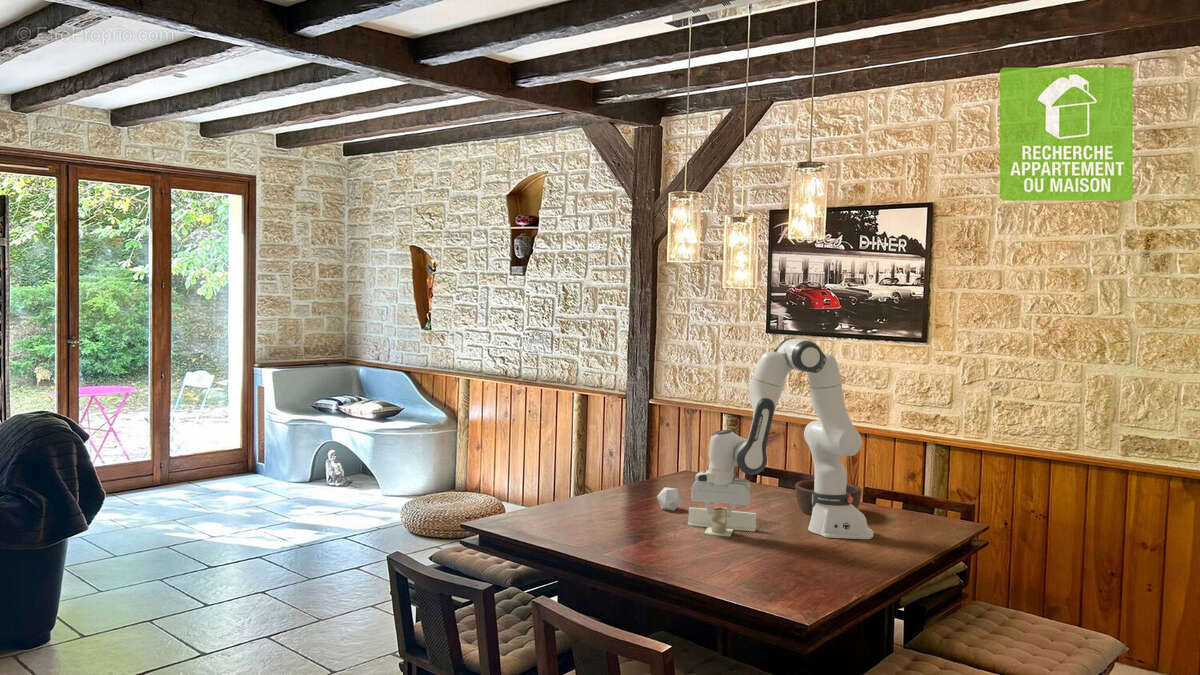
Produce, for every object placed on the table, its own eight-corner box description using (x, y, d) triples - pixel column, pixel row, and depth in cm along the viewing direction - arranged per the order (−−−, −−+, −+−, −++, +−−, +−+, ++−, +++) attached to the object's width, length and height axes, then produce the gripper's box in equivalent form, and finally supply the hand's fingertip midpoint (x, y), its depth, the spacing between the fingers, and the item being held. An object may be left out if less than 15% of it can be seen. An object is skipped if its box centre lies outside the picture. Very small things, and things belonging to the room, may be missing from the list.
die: (666, 514, 343) (682, 494, 343) (649, 499, 348) (665, 479, 348) (673, 518, 351) (689, 497, 351) (656, 503, 355) (672, 483, 355)
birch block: (726, 530, 318) (727, 507, 318) (724, 533, 314) (725, 510, 314) (713, 529, 320) (714, 506, 319) (711, 532, 315) (712, 509, 315)
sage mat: (733, 530, 320) (733, 529, 320) (730, 536, 311) (730, 535, 311) (707, 527, 322) (708, 526, 322) (704, 534, 314) (704, 533, 314)
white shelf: (756, 528, 323) (756, 512, 323) (754, 531, 319) (755, 514, 319) (689, 522, 329) (690, 506, 329) (687, 525, 325) (688, 508, 325)
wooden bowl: (868, 521, 339) (869, 494, 338) (801, 519, 339) (802, 492, 339) (851, 505, 364) (852, 480, 363) (788, 504, 364) (789, 478, 364)
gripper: (751, 477, 316) (750, 516, 317) (693, 472, 322) (692, 511, 322) (749, 480, 310) (748, 520, 311) (690, 476, 316) (689, 515, 316)
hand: (719, 515), depth 317 cm, fingers open, 5 cm apart
